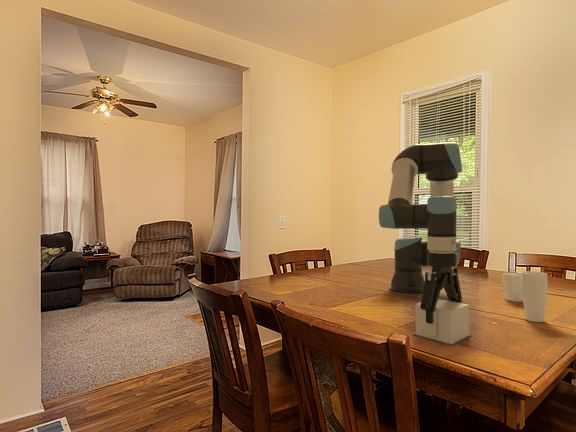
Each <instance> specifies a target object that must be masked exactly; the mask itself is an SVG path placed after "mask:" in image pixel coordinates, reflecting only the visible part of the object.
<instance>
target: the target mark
mask: <svg viewBox="0 0 576 432" xmlns="http://www.w3.org/2000/svg"><path fill="white" fill-rule="evenodd" d="M413 336H415V337H418V338H419V337H420V338H423V339H426V340H430V341H433V342H437V343H441V344H445V345H448V346H455V345H456V344H459V343H461V342H463V341H465V340H467V339H469V338H471V337H472V335H471V334H469V336H467V337H465V338H463V339H461V340H459V341H457V342H455V343H453V344H449V343H445V342H441V341H438V340H434V339H430V338H427V337H423V336H419V335H416V333H414V334H413Z"/></svg>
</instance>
